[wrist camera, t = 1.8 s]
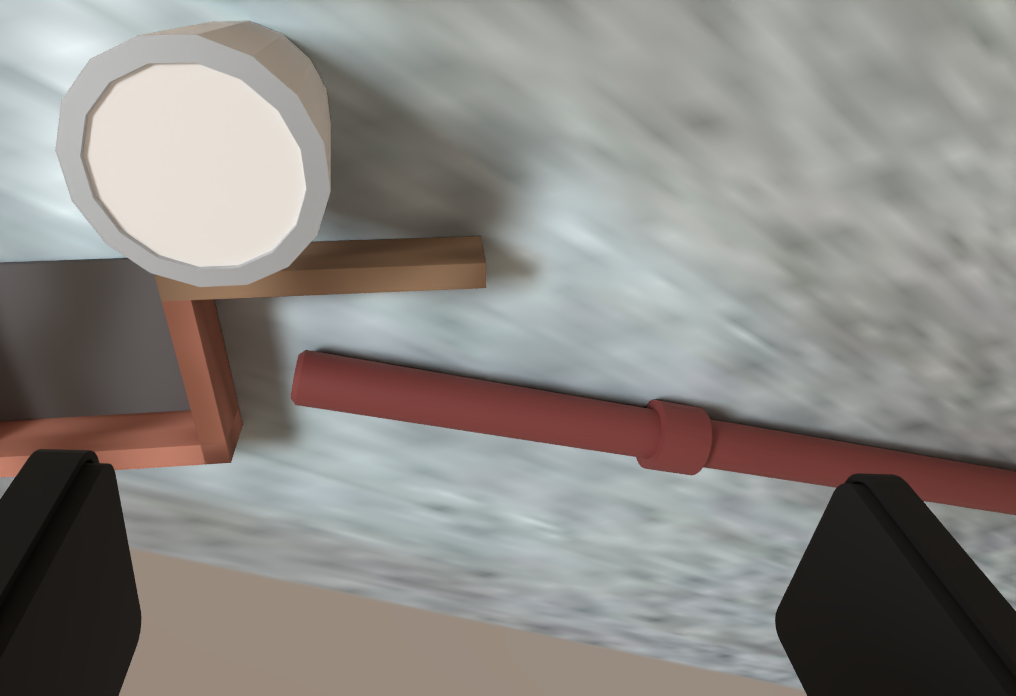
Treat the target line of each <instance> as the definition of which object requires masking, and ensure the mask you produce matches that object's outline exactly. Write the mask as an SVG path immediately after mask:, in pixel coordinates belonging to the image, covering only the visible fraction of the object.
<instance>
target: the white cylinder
mask: <svg viewBox="0 0 1016 696" xmlns="http://www.w3.org/2000/svg"><path fill="white" fill-rule="evenodd" d="M56 154H57V157H58V160H59V163H60V166H61V169H62V172H63V175H64V178H65V181H66V184H67V187H68V190H69V194H70V197H71V200H72V202H73V203H74V204H75V205H76V207H77V208H78V209H79V210H80V212H81V213H82V214H83V216H84V217H85V218H86V219H87V221H88V222H89V223H90V224H91V226H92V227H93V228H94V229H95V231H96V232H97V233H98V234H99V236H100V237H101V238H102V239H103V241H104V242H105V243H106V244H107V245H109V246H110V247H112V248H113V249H115V250H116V251H118V252H119V253H121V254H122V255H124V256H125V257H127V258H128V259H130V260H131V261H133V262H135V263H136V264H138V265H139V266H141V267H142V268H144V269H145V270H147V271H148V272H150V273H152V274H156V275H159V276H163V277H166V278H170V279H173V280H177V281H180V282H184V283H187V284H191V285H194V286H198V287H212V286H233V285H248V284H250V283H253V282H255V281H257V280H260V279H262V278H264V277H266V276H269V275H271V274H273V273H275V272H278V271H280V270H282V269H285V268H287V267H289V266H290V264H291V263H292V262H293V261H294V260H295V259H296V258H297V257H298V256H299V255H300V253H301V252H302V251H303V250H304V249H305V248H306V247H307V246H308V245H309V244H310V243H311V241H312V240H313V239H314V238H315V237H316V236H317V235H318V232H319V228H320V225H321V222H322V218H323V215H324V212H325V208H326V205H327V202H328V199H329V195H330V192H331V120H330V112H329V104H328V96H327V89H326V88H325V86H324V84H323V82H322V80H321V78H320V76H319V74H318V73H317V71H316V69H315V67H314V65H313V63H312V61H311V59H310V58H309V57H308V56H306V55H305V54H304V53H303V52H302V51H301V50H300V49H299V48H298V47H296V46H295V45H294V44H293V43H292V42H291V41H290V40H289V39H288V38H286V37H285V36H284V35H283V34H281V33H278V32H276V31H273V30H271V29H268V28H266V27H263V26H261V25H258V24H256V23H253V22H251V21H212V22H207V23H202V24H197V25H191V26H186V27H181V28H175V29H170V30H165V31H159V32H154V33H149V34H143V35H138V36H136V37H134V38H132V39H130V40H128V41H126V42H124V43H122V44H120V45H118V46H116V47H114V48H112V49H110V50H108V51H106V52H103V53H101V54H99V55H97V56H95V57H93V58H91V59H90V60H89V61H88V63H87V64H86V66H85V67H84V69H83V70H82V71H81V73H80V74H79V76H78V77H77V79H76V80H75V81H74V83H73V84H72V86H71V87H70V89H69V90H68V91H67V93H66V94H65V96H64V97H63V99H62V100H61V107H60V116H59V125H58V134H57V142H56Z"/></svg>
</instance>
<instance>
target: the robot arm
mask: <svg viewBox="0 0 1016 696" xmlns="http://www.w3.org/2000/svg"><path fill="white" fill-rule="evenodd" d="M775 624H776V630H777V634H778V637H779V639H780V641H781V643H782V645H783V647H784V649H785V651H786V654H787V656H788V658H789V660H790V662H791V664H792V666H793V668H794V670H795V672H796V674H797V676H798V678H799V680H800V682H801V684H802V686H803V688H804V690H805V692H806V694H807V696H1016V611H1015V610H1014V609H1013V608H1012V606H1011V605H1010V604H1009V603H1008V602H1007V600H1006V599H1005V598H1004V597H1003V596H1002V595H1001V593H1000V592H999V591H998V590H997V589H996V587H995V586H994V585H993V584H992V583H991V581H990V580H989V579H988V578H987V577H986V576H985V574H984V573H983V572H982V571H981V570H980V568H979V567H978V566H977V565H976V564H975V563H974V561H973V560H972V559H971V558H970V557H969V555H968V554H967V553H966V552H965V551H964V549H963V548H962V547H961V546H960V545H959V544H958V542H957V541H956V540H955V539H954V538H953V536H952V535H951V534H950V533H949V532H948V531H947V529H946V528H945V527H944V526H943V525H942V523H941V522H940V521H939V520H938V519H937V517H936V516H935V515H934V514H933V513H932V512H931V510H930V509H929V508H928V507H927V506H926V504H925V503H924V502H923V501H922V500H921V498H920V497H919V496H918V495H917V494H916V493H915V491H914V490H913V489H912V488H911V487H910V485H909V484H908V483H907V482H906V481H905V480H904V479H903V478H901V477H900V476H897V475H894V474H864V473H858V474H853V475H851V476H850V477H848V479H847V480H846V482H845V483H844V484H841V485H839V486H838V487H837V488H836V489H835V491H834V493H833V495H832V497H831V499H830V501H829V503H828V505H827V507H826V510H825V512H824V514H823V516H822V518H821V520H820V522H819V524H818V526H817V528H816V530H815V532H814V534H813V536H812V538H811V541H810V543H809V545H808V547H807V549H806V551H805V553H804V555H803V557H802V559H801V561H800V563H799V565H798V567H797V570H796V572H795V574H794V576H793V578H792V580H791V582H790V584H789V586H788V588H787V590H786V592H785V594H784V596H783V598H782V601H781V603H780V605H779V607H778V609H777V612H776V617H775ZM140 628H141V610H140V604H139V599H138V594H137V589H136V583H135V578H134V572H133V567H132V561H131V556H130V550H129V545H128V540H127V534H126V529H125V523H124V518H123V513H122V507H121V502H120V496H119V491H118V486H117V480H116V475H115V471H114V467H113V466H112V465H111V464H109V463H99V460H98V456H97V455H96V453H95V452H94V451H90V450H63V449H38V450H36V451H34V452H33V453H32V454H31V455H30V457H29V458H28V459H27V461H26V462H25V464H24V465H23V467H22V468H21V470H20V471H19V473H18V474H17V475H16V477H15V478H14V480H13V481H12V483H11V484H10V486H9V487H8V489H7V490H6V492H5V493H4V495H3V496H2V498H1V499H0V696H119V692H120V690H121V687H122V685H123V682H124V679H125V676H126V673H127V671H128V668H129V666H130V663H131V660H132V657H133V654H134V652H135V649H136V646H137V643H138V640H139V634H140Z"/></svg>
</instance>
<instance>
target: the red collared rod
mask: <svg viewBox="0 0 1016 696" xmlns="http://www.w3.org/2000/svg"><path fill="white" fill-rule="evenodd" d="M291 399H292V401H293V402H294V403H295V405H300V406H307V407H313V408H320V409H326V410H333V411H339V412H346V413H352V414H359V415H365V416H372V417H378V418H385V419H392V420H398V421H405V422H411V423H418V424H424V425H431V426H437V427H444V428H450V429H457V430H464V431H470V432H477V433H483V434H490V435H496V436H503V437H509V438H516V439H522V440H529V441H535V442H542V443H549V444H555V445H562V446H568V447H575V448H581V449H588V450H594V451H601V452H607V453H614V454H621V455H627V456H634V457H636V458H637V461H638V463H639V464H640V466H641V467H643V468H646V469H652V470H659V471H666V472H673V473H679V474H686V475H695V474H697V473H698V472H699V471H700V470H701V469H702V468H703V467H705V468H712V469H719V470H725V471H732V472H738V473H745V474H751V475H758V476H764V477H771V478H777V479H784V480H790V481H797V482H803V483H810V484H816V485H823V486H830V487H836V488H837V487H838V486H839V485H841V484H844V483H845V482H846V480H847V479H848V477H850V476H851V475H853V474H858V473H864V474H894V475H897V476H900V477H901V478H903V479H904V480H905V481H906V482H907V483H908V484H909V485H910V487H911V488H912V489H913V490H914V491H915V493H916V494H917V495H918V496H919V497H920V498H921V500H922V501H927V502H934V503H941V504H947V505H954V506H960V507H967V508H973V509H980V510H986V511H993V512H999V513H1006V514H1012V515H1016V471H1011V470H1005V469H999V468H993V467H987V466H981V465H975V464H970V463H964V462H958V461H952V460H946V459H940V458H934V457H929V456H923V455H917V454H911V453H905V452H899V451H894V450H888V449H882V448H876V447H870V446H864V445H858V444H853V443H847V442H841V441H835V440H829V439H823V438H817V437H812V436H806V435H800V434H794V433H788V432H782V431H777V430H771V429H765V428H759V427H753V426H747V425H741V424H736V423H730V422H724V421H718V420H712V419H710V418H709V416H708V414H707V413H706V411H705V410H704V409H702V408H699V407H694V406H688V405H682V404H676V403H671V402H665V401H659V400H651V401H649V403H648V405H647V407H646V408H642V407H636V406H630V405H624V404H619V403H613V402H607V401H601V400H595V399H589V398H584V397H578V396H572V395H566V394H560V393H554V392H549V391H543V390H537V389H531V388H525V387H519V386H513V385H508V384H502V383H496V382H490V381H484V380H478V379H473V378H467V377H461V376H455V375H449V374H443V373H438V372H432V371H426V370H420V369H414V368H408V367H402V366H397V365H391V364H385V363H379V362H373V361H367V360H362V359H356V358H350V357H344V356H338V355H332V354H327V353H321V352H315V351H309V350H305V351H303V352H302V353H300V354H299V356H298V360H297V364H296V369H295V374H294V380H293V385H292V392H291Z"/></svg>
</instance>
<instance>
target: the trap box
mask: <svg viewBox="0 0 1016 696" xmlns="http://www.w3.org/2000/svg"><path fill="white" fill-rule="evenodd" d="M472 288H486V261H485V256H484V251H483V246H482V241H481V236H465V237H436V238H407V239H378V240H349V241H320V242H311V243H310V244H309V245H308V246H307V247H306V248H305V249H304V250H303V251H302V252H301V253H300V255H299V256H298V257H297V258H296V259H295V260H294V261H293V262H292V263H291V264H290V266H289V267H287V268H285V269H282V270H280V271H278V272H275V273H273V274H271V275H269V276H266V277H264V278H262V279H260V280H257V281H255V282H253V283H250V284H248V285H233V286H212V287H198V286H194V285H191V284H187V283H184V282H180V281H177V280H173V279H170V278H166V277H163V276H159V275H156V274H152V273H150V272H148V271H147V270H145V269H144V268H142V267H141V266H139V265H138V264H136V263H135V262H133V261H131V260H130V259H128V258H115V259H87V260H59V261H31V262H3V263H0V477H13V476H16V475H17V474H18V473H19V471H20V470H21V468H22V467H23V465H24V464H25V462H26V461H27V459H28V458H29V457H30V455H31V454H32V453H33V452H34V451H36V450H38V449H63V450H90V451H94V452H95V453H96V455H97V456H98V460H99V463H109V464H111V465H112V466H113V467H114V470H123V469H139V468H155V467H170V466H186V465H202V464H218V463H231V461H232V457H233V454H234V451H235V448H236V445H237V442H238V439H239V435H240V432H241V429H242V426H243V424H242V420H241V415H240V411H239V406H238V402H237V398H236V393H235V389H234V384H233V380H232V375H231V371H230V367H229V362H228V358H227V353H226V349H225V345H224V340H223V336H222V331H221V327H220V323H219V318H218V314H217V309H216V305H215V301H214V299H232V298H256V297H280V296H304V295H328V294H352V293H376V292H400V291H424V290H448V289H472Z"/></svg>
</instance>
